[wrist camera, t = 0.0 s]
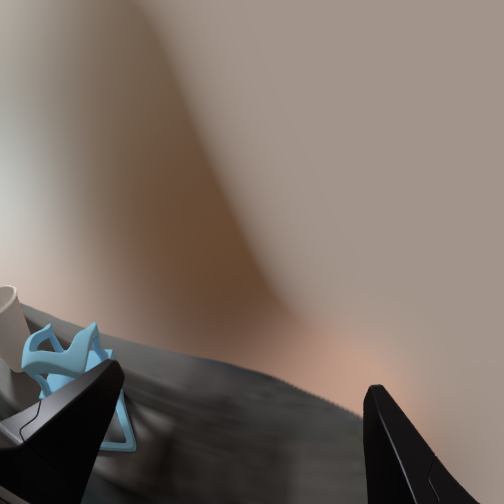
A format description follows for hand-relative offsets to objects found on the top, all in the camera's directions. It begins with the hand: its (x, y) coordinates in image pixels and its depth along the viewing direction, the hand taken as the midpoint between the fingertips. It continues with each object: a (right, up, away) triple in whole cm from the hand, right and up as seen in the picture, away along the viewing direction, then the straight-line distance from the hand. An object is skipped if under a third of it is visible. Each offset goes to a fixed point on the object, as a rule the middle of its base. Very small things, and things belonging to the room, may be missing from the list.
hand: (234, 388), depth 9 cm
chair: (-14, -13, +14) cm, 24 cm away
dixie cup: (-32, -11, +19) cm, 39 cm away
